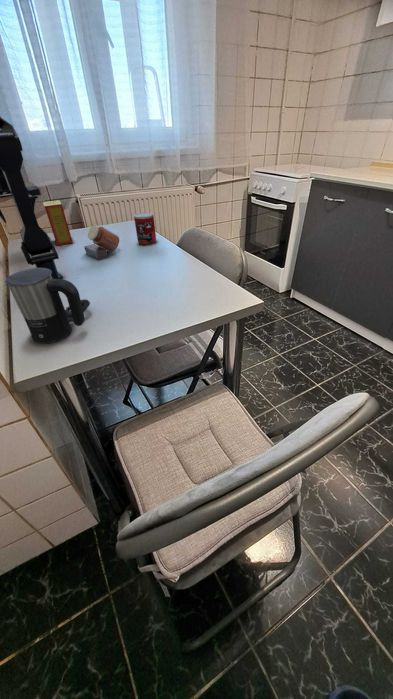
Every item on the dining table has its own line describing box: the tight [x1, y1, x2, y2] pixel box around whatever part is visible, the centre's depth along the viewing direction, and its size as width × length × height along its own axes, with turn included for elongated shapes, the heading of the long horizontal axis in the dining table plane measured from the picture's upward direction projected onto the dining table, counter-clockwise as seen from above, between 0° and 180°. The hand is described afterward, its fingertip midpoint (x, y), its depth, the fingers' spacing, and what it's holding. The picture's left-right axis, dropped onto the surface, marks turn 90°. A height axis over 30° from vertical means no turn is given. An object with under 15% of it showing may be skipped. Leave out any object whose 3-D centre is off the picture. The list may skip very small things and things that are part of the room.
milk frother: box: [4, 267, 91, 344], centre depth 70 cm, size 14×16×15 cm
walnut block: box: [83, 243, 109, 261], centre depth 113 cm, size 10×4×3 cm, turn 43°
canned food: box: [133, 212, 157, 246], centre depth 121 cm, size 8×8×11 cm
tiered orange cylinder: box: [87, 224, 120, 253], centre depth 112 cm, size 8×11×11 cm
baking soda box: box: [42, 199, 74, 247], centre depth 125 cm, size 10×6×16 cm
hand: (19, 220), depth 105 cm, fingers open, 9 cm apart
